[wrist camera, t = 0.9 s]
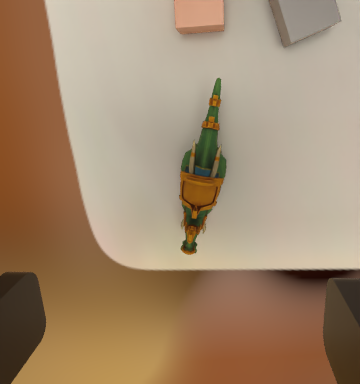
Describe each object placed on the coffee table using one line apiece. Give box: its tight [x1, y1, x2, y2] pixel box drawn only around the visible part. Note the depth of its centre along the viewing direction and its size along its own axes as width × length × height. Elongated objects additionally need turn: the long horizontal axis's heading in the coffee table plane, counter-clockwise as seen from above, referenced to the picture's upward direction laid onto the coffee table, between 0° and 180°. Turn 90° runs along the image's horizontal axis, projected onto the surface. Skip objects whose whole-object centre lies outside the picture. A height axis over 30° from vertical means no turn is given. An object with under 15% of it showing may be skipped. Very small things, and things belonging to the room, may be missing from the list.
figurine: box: [179, 78, 226, 255], centre depth 23 cm, size 3×12×8 cm, turn 172°
